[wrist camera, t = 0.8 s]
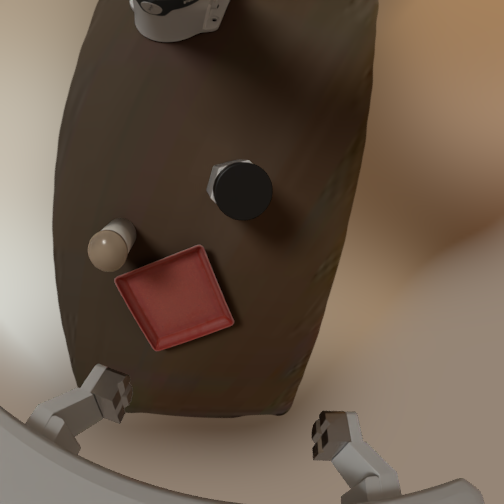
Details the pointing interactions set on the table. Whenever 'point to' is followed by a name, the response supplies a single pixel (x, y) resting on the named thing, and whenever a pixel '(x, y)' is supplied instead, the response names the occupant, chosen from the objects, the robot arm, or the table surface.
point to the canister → (112, 245)
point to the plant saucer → (175, 298)
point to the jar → (240, 189)
